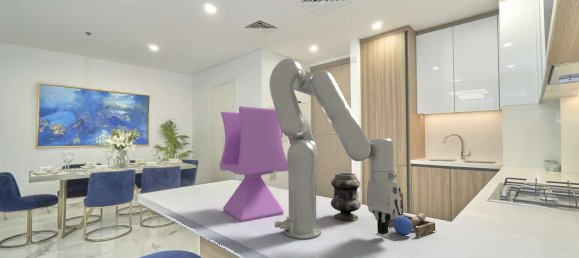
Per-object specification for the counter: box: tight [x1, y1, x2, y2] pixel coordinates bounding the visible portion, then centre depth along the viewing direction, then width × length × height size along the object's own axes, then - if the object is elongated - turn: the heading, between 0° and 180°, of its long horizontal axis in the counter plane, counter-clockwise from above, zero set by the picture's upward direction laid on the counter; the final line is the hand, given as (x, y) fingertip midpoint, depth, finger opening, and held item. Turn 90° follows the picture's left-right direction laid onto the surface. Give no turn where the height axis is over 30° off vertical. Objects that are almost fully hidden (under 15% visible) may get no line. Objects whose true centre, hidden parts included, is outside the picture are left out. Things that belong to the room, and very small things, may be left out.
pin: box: [410, 212, 426, 228], centre depth 90 cm, size 2×2×8 cm
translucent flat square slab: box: [375, 228, 406, 241], centre depth 86 cm, size 8×7×1 cm
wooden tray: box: [388, 214, 436, 238], centre depth 91 cm, size 10×12×3 cm
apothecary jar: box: [330, 172, 362, 222], centre depth 106 cm, size 12×12×18 cm
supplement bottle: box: [398, 186, 404, 216], centre depth 112 cm, size 6×6×11 cm
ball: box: [392, 215, 414, 235], centre depth 86 cm, size 6×6×6 cm
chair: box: [219, 106, 288, 223], centre depth 114 cm, size 22×22×45 cm
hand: (382, 233), depth 83 cm, fingers closed
